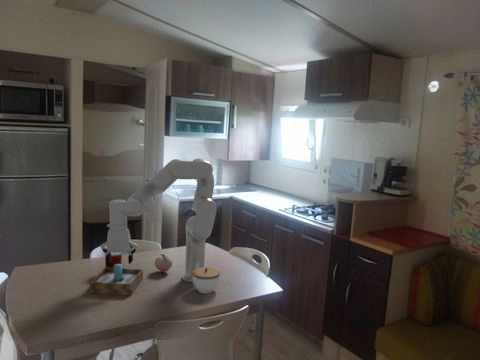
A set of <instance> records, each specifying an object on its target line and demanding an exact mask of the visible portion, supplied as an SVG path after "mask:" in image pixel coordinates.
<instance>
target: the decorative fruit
mask: <svg viewBox="0 0 480 360" xmlns="http://www.w3.org/2000/svg"><path fill="white" fill-rule="evenodd" d="M154 266H155V268H156V269H157V270H158V271H160V272H162V273H165V272H168V271H169V270H170V269H171V268H172V266H173V260H172V258H171V257H169V256H168V255H166V254H165V253H161V254H160V255H159V256H157V257H156V258H155V260H154Z"/></svg>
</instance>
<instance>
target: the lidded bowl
mask: <svg viewBox="0 0 480 360" xmlns="http://www.w3.org/2000/svg"><path fill="white" fill-rule="evenodd" d="M192 275H193V282H192V284H193V286H194V288H195V289H196V290H197V292H198V293H200V294H204V295H205V294H206V295H207V294H212V293H213V291H214V290H215V289H216V288H217V287H218V285H219V280H220V270H218V269H217V268H215V267H209V266H204V267H200V268H196V269H194V270H193V272H192Z"/></svg>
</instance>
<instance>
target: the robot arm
mask: <svg viewBox="0 0 480 360" xmlns="http://www.w3.org/2000/svg"><path fill="white" fill-rule="evenodd" d="M213 171H214V169H213V165H212V163H211V162H210V161H208V160H205V159H204V158H203V159H202V158H194V159H192V160H191V161H190V160H181V159H178V158H177V159H176V158H174V159H172V160H170V161H169V162H168V163H166V165H165V166H164V167H162V168H161V169H160V170H159V171H158V172H157V173H156V174H155V175H154V176H152V177H151V178H150V179H149V180H148V181H146V182H145V183H144V184H142V185H141V186H140V187H138V188H137V189H136V191H135V190H134V192H133V193H132V194H130V195H129V197H128V198H127V200H124V199H113V200H111V201H110V202H109V204H108V205H109V206H108V207H109V223H108V224H106V227H107V228H109V229H108V231H107V239H106V242H103V243H102V244H100V246H99V247H100V248H101V250H102V252H103V253H104V255H105V254H106V255H107V261H108V263H110V262H111V261H112V260H111V253H110V252H122V253H128V255H127V257H128V258H127V259H128V261H127V262H128V264H129V265H130V264H131V263H132V262H133V261H134V254H135V252H137V250H138V248H139V244H137V243H135V242H134V241H132V240H131V233H130V229H129V228H128V217H139V216H141V215H143V213H144V212H145V207H146V206H145V204H146V203H147V202H149V200H151V199H152V198H153V197H155V196H157V195H161V194H163V193H164V192H166V191H167V190H168V189H169V188H170V187H171V186H172V185H173V184H174V183H176V181H177V180H196V189H195V193H194V196H193V201H192V204H191V205H192V210H193V212H195V213H196V214H195V215H192V216H190V217H189V218H188V219H187V220H186V223H185V239H186V240H185V263H184V264H185V266H184V267H185V269H184V270H185V271H184V273H182V275H181V279H182V280H183V281H184V282H188V283H193V275H192V272H193V270H194V269H196V268H200V267H205V262H206V261H205V260H206V259H205V257H206V240H207V239H208V238H210V236H211V234H212V231H213V228H214V224H215V219H216V215H217V204H216V203H215V201H214V200H213V196H214V195H213V194H214V191H215V177H214V174H213ZM132 247H133V249H132Z"/></svg>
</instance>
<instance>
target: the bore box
mask: <svg viewBox="0 0 480 360" xmlns="http://www.w3.org/2000/svg"><path fill="white" fill-rule="evenodd" d="M143 280H144V269H140V268H139V269H138V268H124V267H122V282H114V268H108V267H105V266H104V268H103V269H101V271H99V273H98V274H96V276H95V277H94V278H92V280H90V282H89V294H99V295H100V294H102V295H118V296H133V294H134V293H135V291H136V290H137V288H138V286H139V285H141V282H142V281H143Z"/></svg>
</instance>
